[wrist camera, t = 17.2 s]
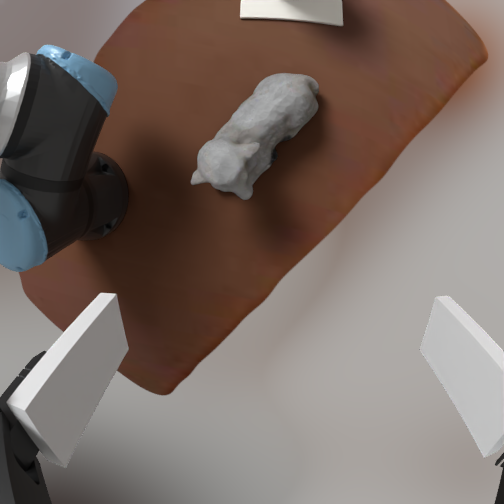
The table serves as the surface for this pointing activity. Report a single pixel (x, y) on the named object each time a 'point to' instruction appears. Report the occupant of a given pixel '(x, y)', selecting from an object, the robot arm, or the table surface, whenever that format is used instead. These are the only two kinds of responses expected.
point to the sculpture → (256, 133)
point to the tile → (294, 10)
